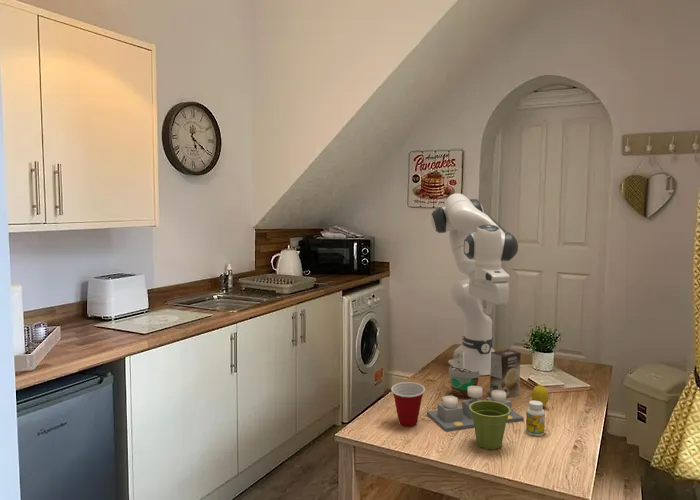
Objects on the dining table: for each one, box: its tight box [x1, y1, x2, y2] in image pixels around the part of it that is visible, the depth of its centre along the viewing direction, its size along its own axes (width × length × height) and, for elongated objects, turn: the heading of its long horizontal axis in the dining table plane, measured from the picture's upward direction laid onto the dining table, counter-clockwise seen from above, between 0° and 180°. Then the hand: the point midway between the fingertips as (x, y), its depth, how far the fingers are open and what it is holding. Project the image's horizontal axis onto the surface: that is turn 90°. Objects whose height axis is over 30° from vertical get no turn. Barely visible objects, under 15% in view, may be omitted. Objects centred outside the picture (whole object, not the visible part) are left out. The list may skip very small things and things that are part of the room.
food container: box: [448, 364, 481, 400], centre depth 202 cm, size 12×6×10 cm, turn 45°
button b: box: [467, 385, 483, 403], centre depth 182 cm, size 5×5×6 cm
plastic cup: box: [390, 381, 426, 428], centre depth 177 cm, size 11×11×12 cm
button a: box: [490, 390, 507, 402], centre depth 185 cm, size 5×5×6 cm
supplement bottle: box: [525, 400, 546, 437], centre depth 171 cm, size 5×5×10 cm
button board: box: [426, 396, 524, 432], centre depth 183 cm, size 14×28×5 cm, turn 107°
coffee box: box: [489, 348, 522, 399], centre depth 202 cm, size 9×6×16 cm
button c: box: [442, 395, 459, 408], centre depth 180 cm, size 5×5×6 cm
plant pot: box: [469, 400, 512, 450], centre depth 163 cm, size 12×12×11 cm
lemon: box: [531, 384, 549, 406], centre depth 191 cm, size 6×6×8 cm
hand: (486, 313), depth 189 cm, fingers closed
